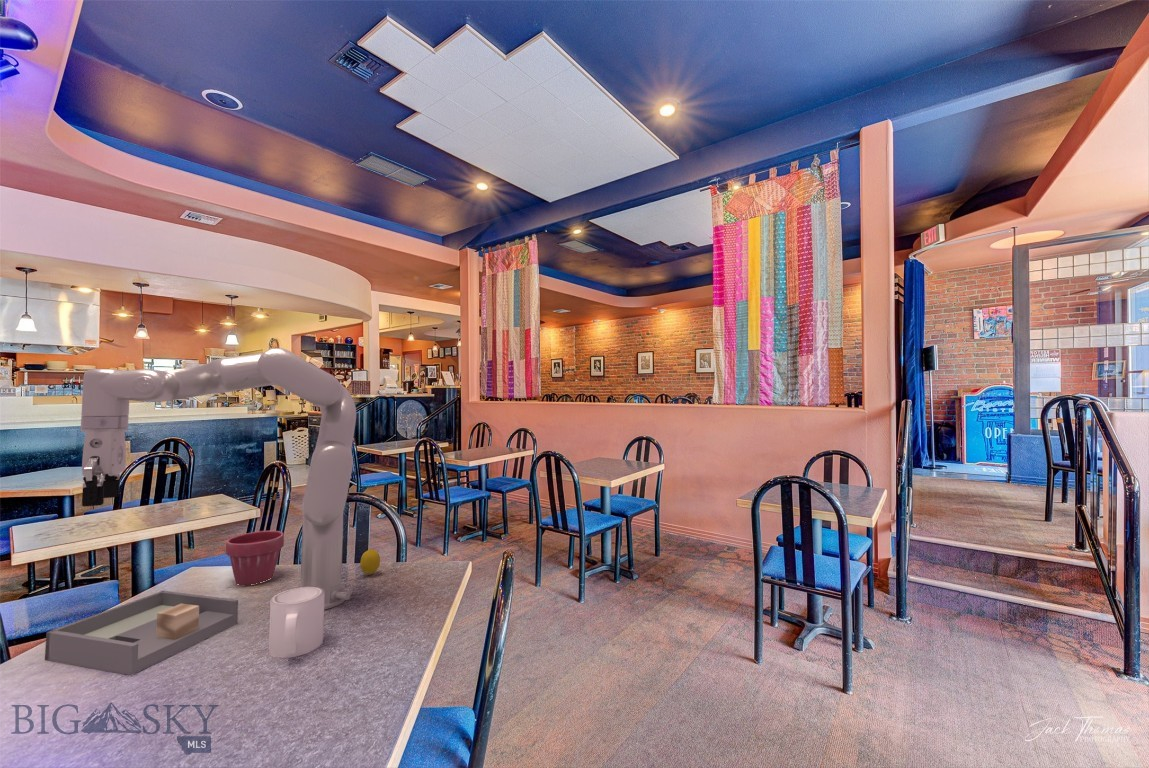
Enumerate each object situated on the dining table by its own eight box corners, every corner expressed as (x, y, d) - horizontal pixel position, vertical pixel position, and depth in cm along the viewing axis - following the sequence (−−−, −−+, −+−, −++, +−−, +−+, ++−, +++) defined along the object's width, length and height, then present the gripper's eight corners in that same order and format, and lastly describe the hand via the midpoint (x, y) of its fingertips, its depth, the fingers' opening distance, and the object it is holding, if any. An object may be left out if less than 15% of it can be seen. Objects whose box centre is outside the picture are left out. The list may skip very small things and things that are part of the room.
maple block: (198, 628, 103) (199, 605, 104) (174, 640, 99) (175, 615, 99) (180, 626, 105) (181, 603, 105) (156, 637, 100) (157, 613, 100)
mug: (320, 659, 96) (322, 606, 97) (261, 671, 92) (263, 615, 92) (324, 630, 108) (325, 583, 109) (272, 639, 104) (274, 590, 105)
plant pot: (211, 587, 133) (213, 541, 134) (255, 570, 147) (257, 528, 147) (252, 592, 130) (254, 545, 130) (293, 574, 143) (295, 532, 144)
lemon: (372, 579, 140) (373, 552, 140) (355, 577, 141) (356, 550, 141) (383, 572, 145) (384, 546, 146) (367, 571, 146) (368, 545, 147)
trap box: (237, 623, 111) (238, 599, 112) (131, 675, 90) (132, 646, 90) (162, 613, 117) (163, 590, 117) (44, 659, 95) (46, 632, 95)
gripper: (114, 425, 99) (110, 507, 99) (139, 422, 114) (135, 493, 114) (64, 426, 96) (59, 511, 95) (96, 423, 111) (92, 496, 110)
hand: (101, 501), depth 104 cm, fingers open, 9 cm apart
